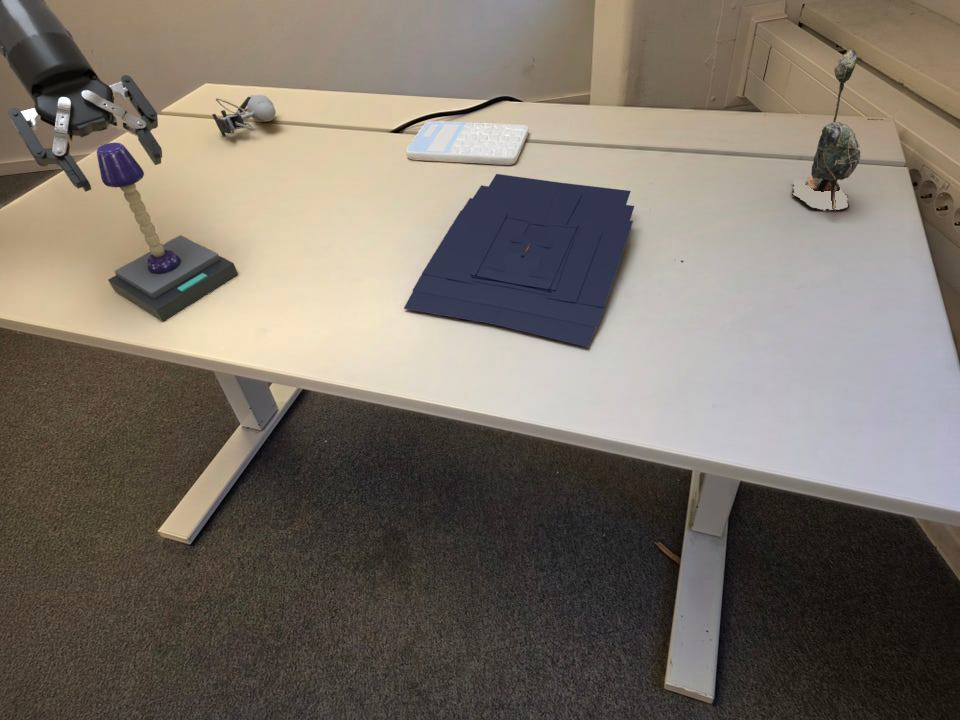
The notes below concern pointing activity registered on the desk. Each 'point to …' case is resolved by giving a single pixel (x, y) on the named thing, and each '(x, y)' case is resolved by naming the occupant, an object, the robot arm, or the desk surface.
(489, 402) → the desk surface
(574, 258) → the navy flat block
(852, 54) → the grey stone sculpture
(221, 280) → the scale
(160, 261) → the toy lamp
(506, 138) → the calculator
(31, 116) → the robot arm
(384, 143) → the desk surface
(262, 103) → the clip-on lamp
